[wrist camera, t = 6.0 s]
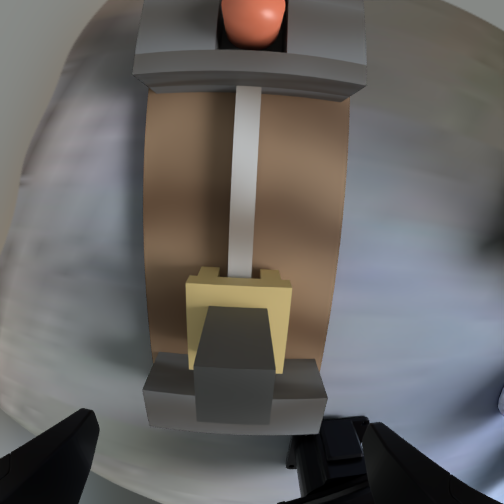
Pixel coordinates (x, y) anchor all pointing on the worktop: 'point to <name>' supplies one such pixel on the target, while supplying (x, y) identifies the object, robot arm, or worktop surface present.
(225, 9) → the orange ball
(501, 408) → the soap bottle
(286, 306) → the carriage
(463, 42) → the worktop surface
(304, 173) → the rail board
